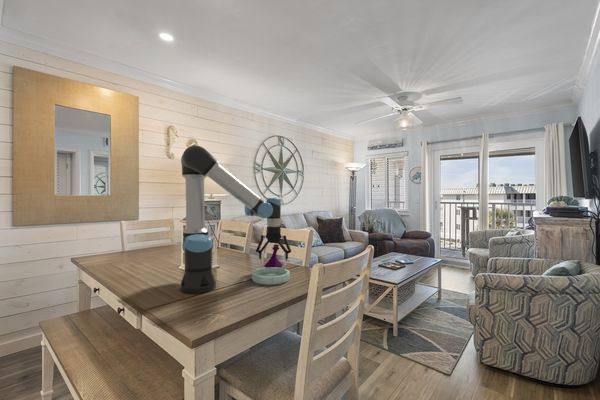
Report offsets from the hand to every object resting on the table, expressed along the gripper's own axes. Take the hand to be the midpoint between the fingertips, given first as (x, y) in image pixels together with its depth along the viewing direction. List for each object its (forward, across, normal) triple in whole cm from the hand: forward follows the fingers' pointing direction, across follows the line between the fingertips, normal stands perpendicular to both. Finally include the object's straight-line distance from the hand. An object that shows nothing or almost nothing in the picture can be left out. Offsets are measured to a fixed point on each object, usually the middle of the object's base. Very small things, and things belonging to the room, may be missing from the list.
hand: (273, 265), depth 159 cm
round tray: (+3, +1, -14) cm, 14 cm away
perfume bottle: (+4, 0, 0) cm, 4 cm away
